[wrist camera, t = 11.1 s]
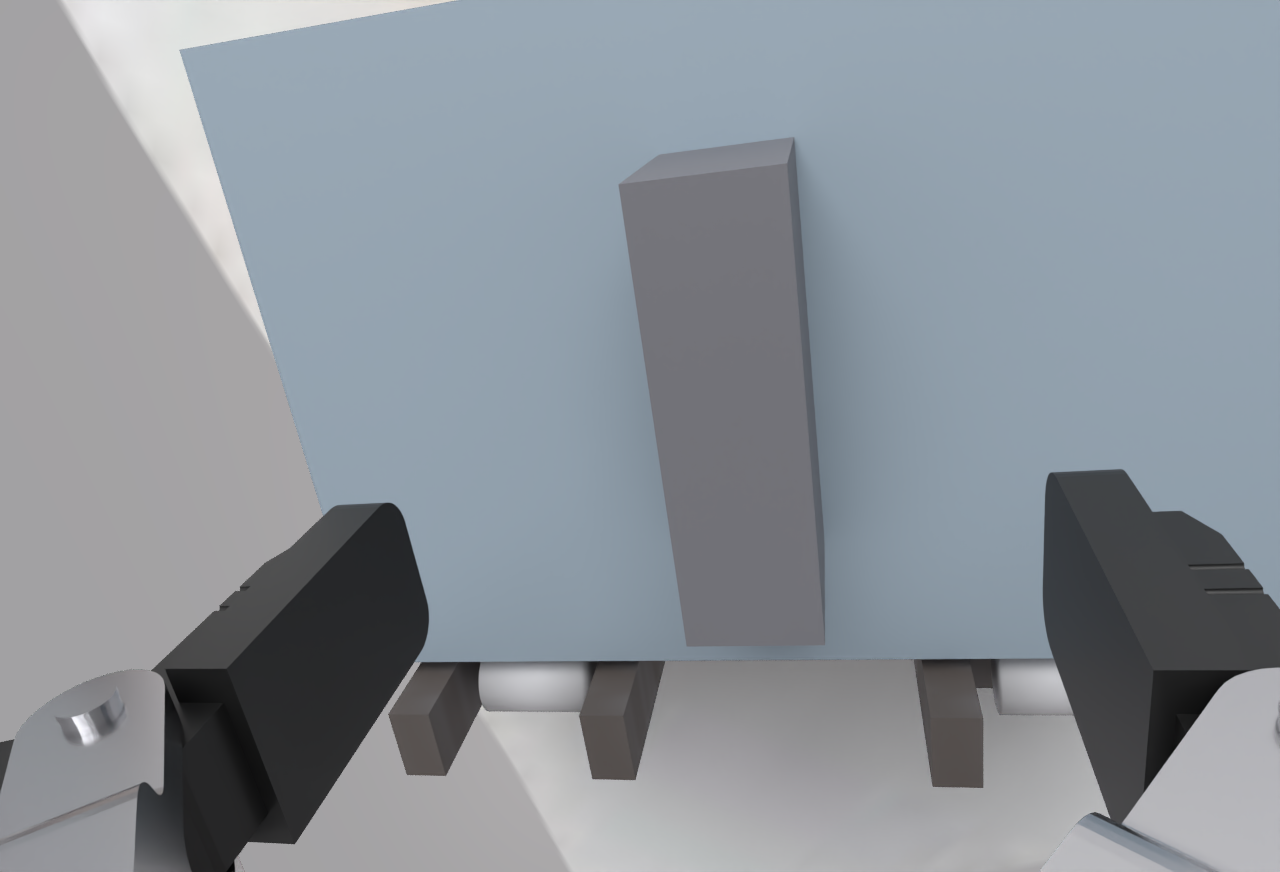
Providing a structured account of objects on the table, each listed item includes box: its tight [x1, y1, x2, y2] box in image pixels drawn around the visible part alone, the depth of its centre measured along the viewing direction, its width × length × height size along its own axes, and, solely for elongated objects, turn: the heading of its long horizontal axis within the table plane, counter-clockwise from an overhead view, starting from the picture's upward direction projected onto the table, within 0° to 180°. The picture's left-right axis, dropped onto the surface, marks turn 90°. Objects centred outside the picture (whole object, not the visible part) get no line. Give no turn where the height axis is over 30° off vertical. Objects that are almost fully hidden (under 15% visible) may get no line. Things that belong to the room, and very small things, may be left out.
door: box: [180, 0, 1280, 715], centre depth 17 cm, size 20×16×5 cm
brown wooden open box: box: [388, 659, 993, 788], centre depth 22 cm, size 20×16×11 cm
